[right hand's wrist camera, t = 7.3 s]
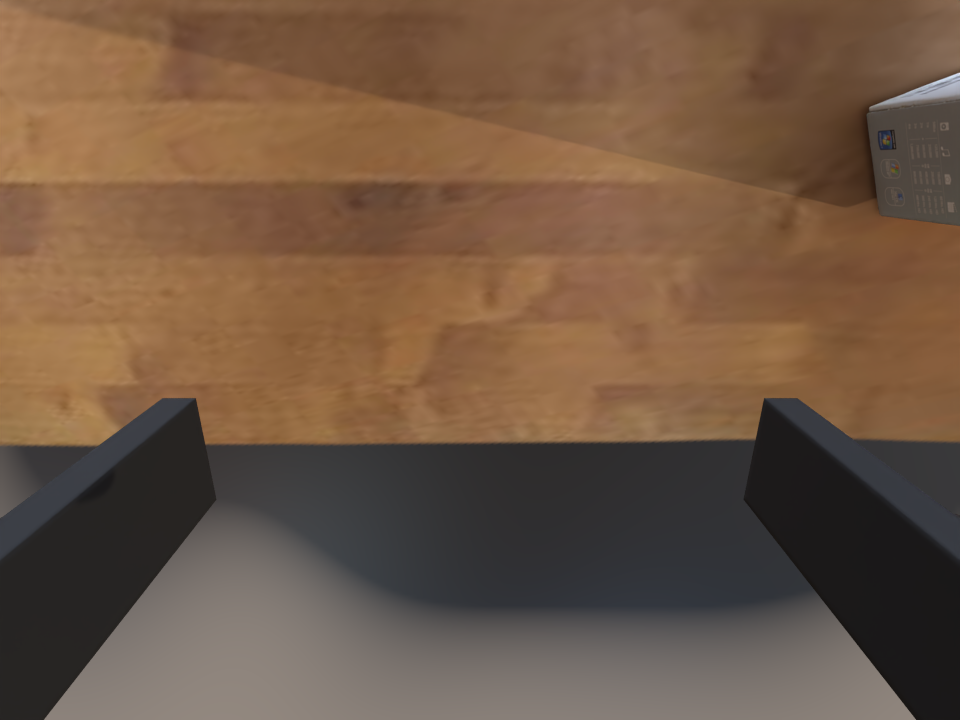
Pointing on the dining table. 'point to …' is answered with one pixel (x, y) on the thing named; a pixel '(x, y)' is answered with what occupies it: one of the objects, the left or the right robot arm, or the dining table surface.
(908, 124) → the hard drive box
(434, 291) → the dining table surface
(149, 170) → the dining table surface
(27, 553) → the right robot arm
